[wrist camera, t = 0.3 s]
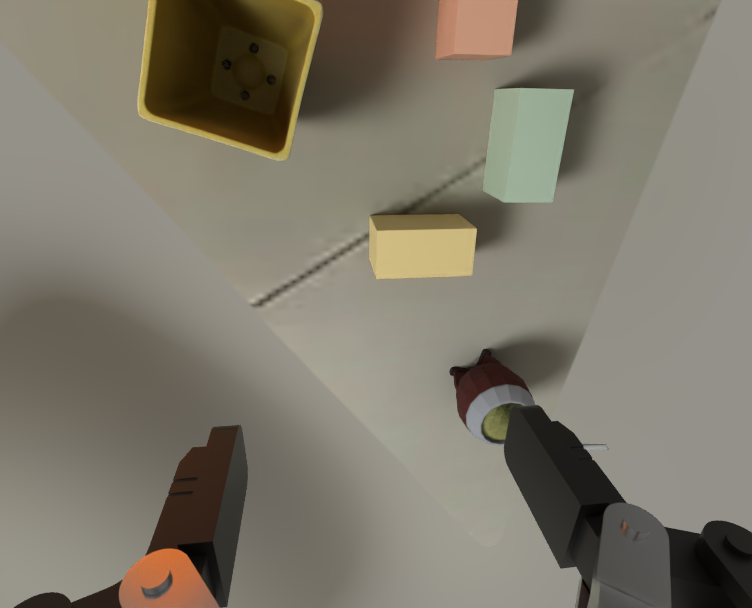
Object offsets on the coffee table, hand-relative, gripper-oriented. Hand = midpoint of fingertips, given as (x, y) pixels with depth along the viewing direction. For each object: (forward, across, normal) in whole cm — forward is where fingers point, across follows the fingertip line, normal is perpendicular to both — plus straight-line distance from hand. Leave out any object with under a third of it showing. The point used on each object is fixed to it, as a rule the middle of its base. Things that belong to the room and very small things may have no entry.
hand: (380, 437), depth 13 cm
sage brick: (+28, -15, -6) cm, 32 cm away
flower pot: (+28, +6, -10) cm, 30 cm away
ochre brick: (+28, -7, +2) cm, 29 cm away
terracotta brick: (+28, -10, -16) cm, 33 cm away
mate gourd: (+28, -15, +18) cm, 36 cm away
